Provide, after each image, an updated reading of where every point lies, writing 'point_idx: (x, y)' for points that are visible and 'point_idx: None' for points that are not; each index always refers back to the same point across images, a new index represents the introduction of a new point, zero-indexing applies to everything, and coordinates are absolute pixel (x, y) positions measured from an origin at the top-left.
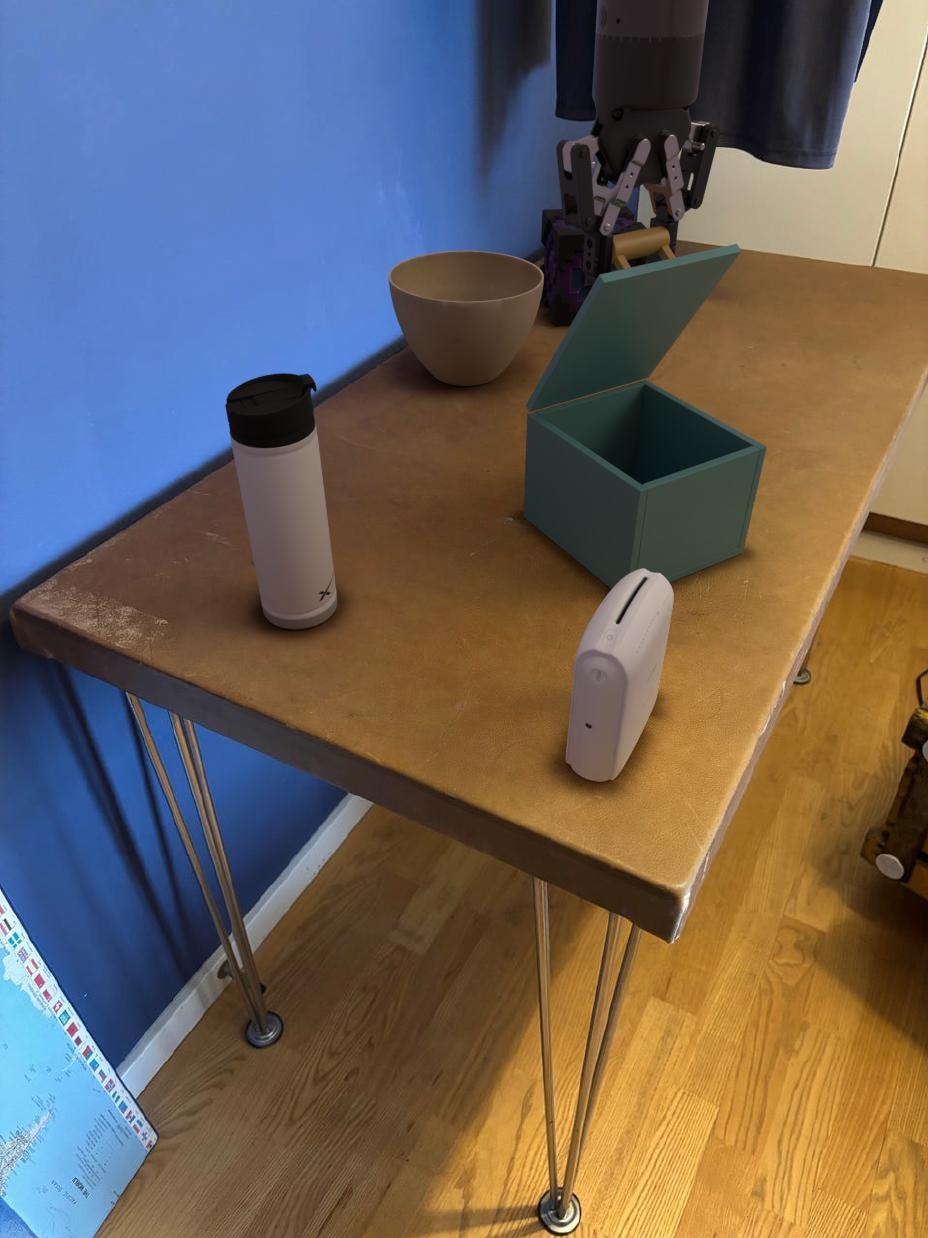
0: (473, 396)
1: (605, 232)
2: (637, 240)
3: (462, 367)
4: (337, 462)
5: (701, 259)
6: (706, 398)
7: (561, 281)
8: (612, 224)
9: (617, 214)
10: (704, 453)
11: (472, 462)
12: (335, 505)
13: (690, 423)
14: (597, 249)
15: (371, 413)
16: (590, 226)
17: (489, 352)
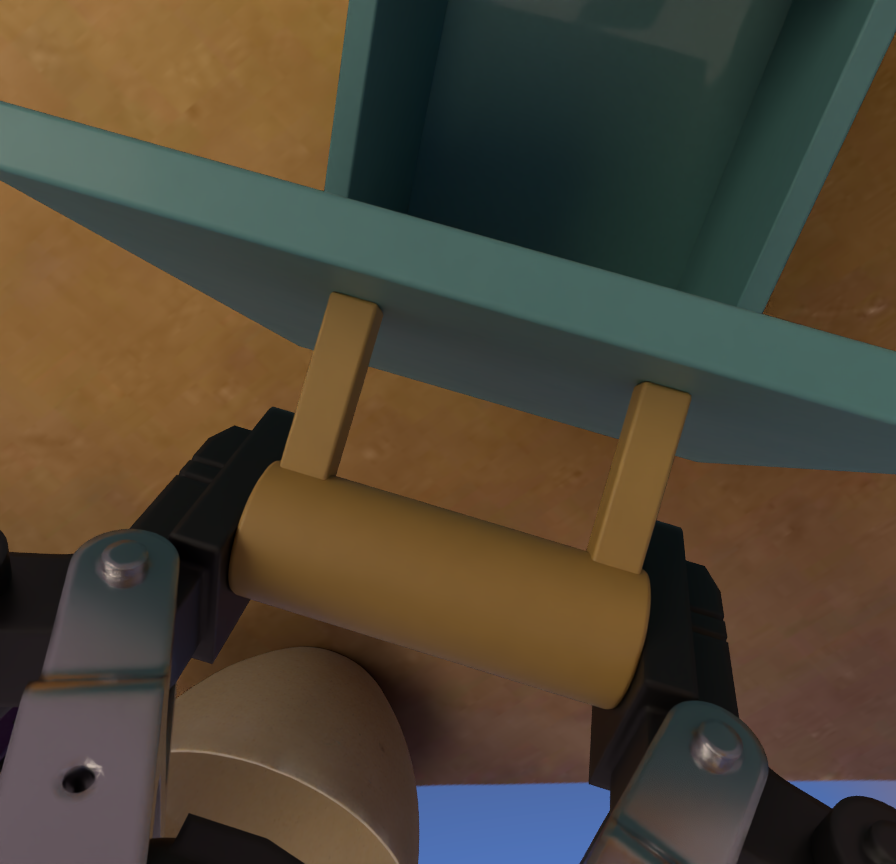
0: (377, 639)
1: (725, 722)
2: (477, 578)
3: (376, 697)
4: (737, 674)
5: (312, 193)
6: (13, 320)
7: (7, 739)
8: (671, 741)
9: (642, 782)
10: (404, 12)
11: (571, 511)
12: (871, 598)
13: (374, 99)
14: (714, 670)
15: (556, 723)
16: (866, 813)
17: (331, 688)
